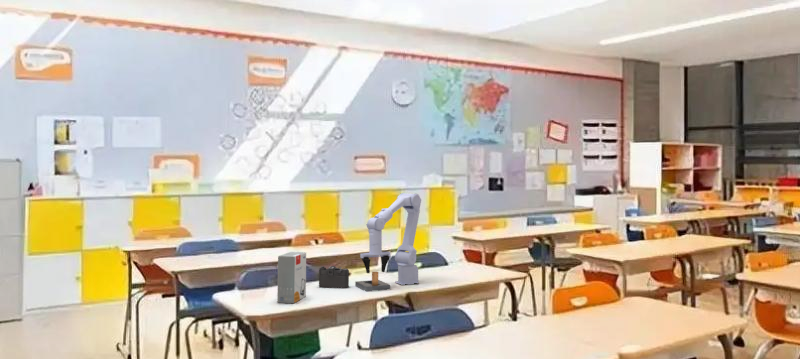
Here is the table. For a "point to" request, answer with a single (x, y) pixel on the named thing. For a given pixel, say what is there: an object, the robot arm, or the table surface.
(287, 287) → the hard drive box
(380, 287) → the keyhole plate
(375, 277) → the peg
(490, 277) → the table surface
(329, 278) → the camera
